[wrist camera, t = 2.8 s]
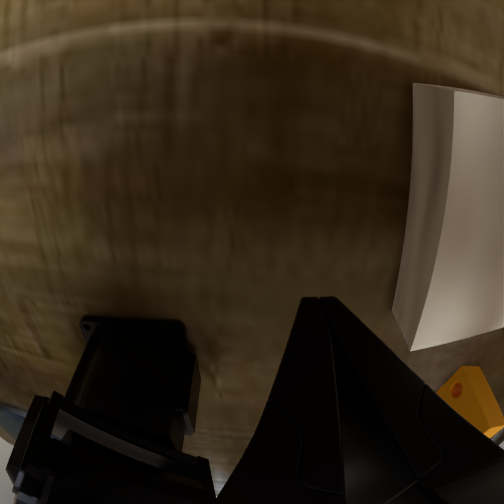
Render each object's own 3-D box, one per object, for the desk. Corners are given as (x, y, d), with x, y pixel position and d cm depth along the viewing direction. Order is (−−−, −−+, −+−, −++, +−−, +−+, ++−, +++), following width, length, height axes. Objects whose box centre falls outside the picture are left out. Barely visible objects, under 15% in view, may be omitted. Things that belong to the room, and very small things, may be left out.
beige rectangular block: (389, 306, 17) (410, 351, 14) (408, 82, 11) (453, 90, 8) (492, 287, 17) (518, 322, 14) (528, 102, 10) (574, 118, 7)
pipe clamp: (413, 435, 27) (427, 485, 22) (383, 437, 27) (395, 491, 21) (488, 365, 21) (516, 422, 16) (461, 363, 21) (490, 428, 15)
